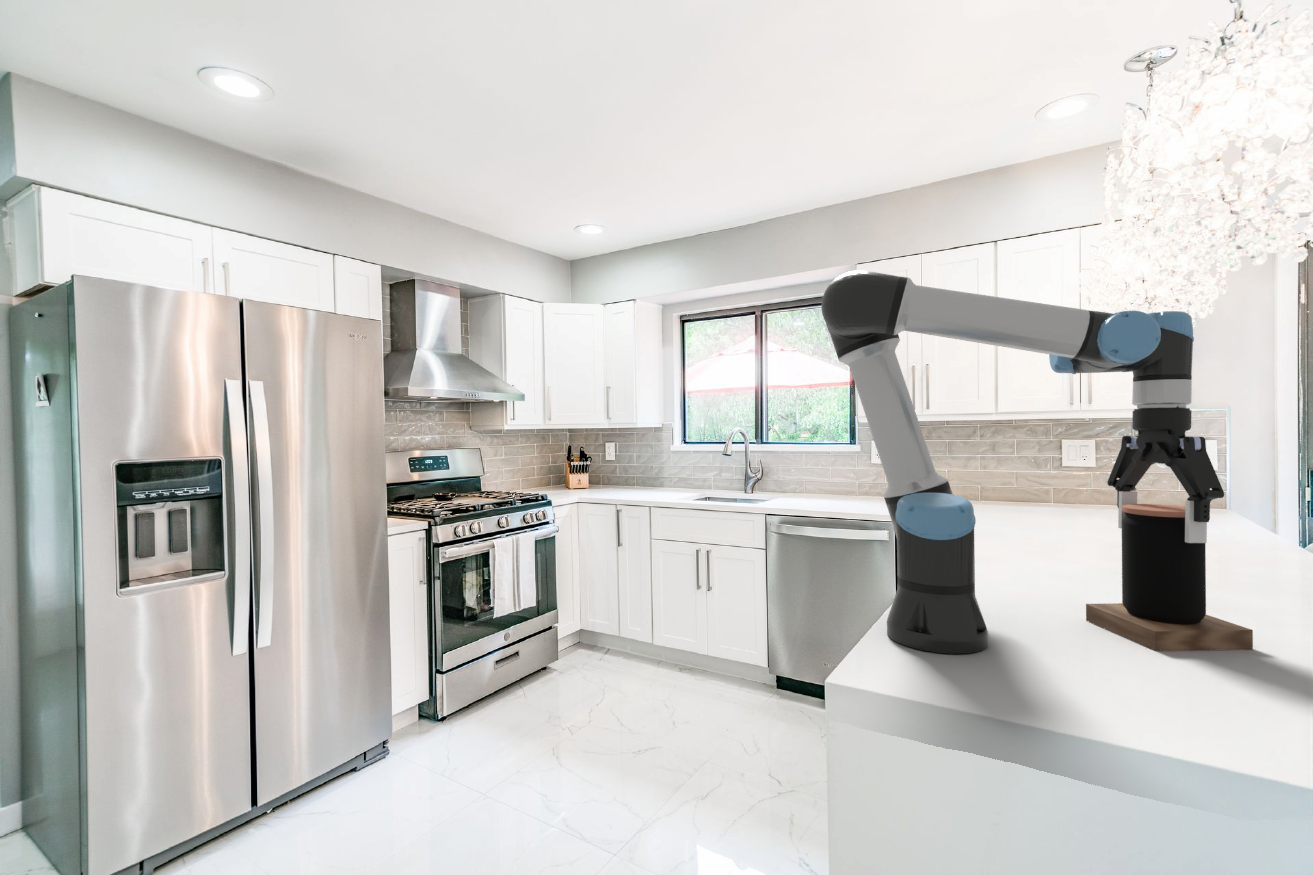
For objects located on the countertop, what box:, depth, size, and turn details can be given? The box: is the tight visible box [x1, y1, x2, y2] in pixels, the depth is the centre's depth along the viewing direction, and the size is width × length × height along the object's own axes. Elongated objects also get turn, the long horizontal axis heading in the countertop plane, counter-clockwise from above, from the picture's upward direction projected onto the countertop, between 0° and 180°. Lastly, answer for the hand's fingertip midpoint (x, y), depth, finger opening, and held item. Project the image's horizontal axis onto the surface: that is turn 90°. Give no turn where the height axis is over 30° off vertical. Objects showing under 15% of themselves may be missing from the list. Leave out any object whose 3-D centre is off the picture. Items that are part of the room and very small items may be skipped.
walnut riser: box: [1085, 602, 1254, 652], centre depth 101 cm, size 15×15×3 cm
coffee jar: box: [1121, 503, 1207, 625], centre depth 101 cm, size 11×11×18 cm
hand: (1159, 535), depth 101 cm, fingers open, 13 cm apart
